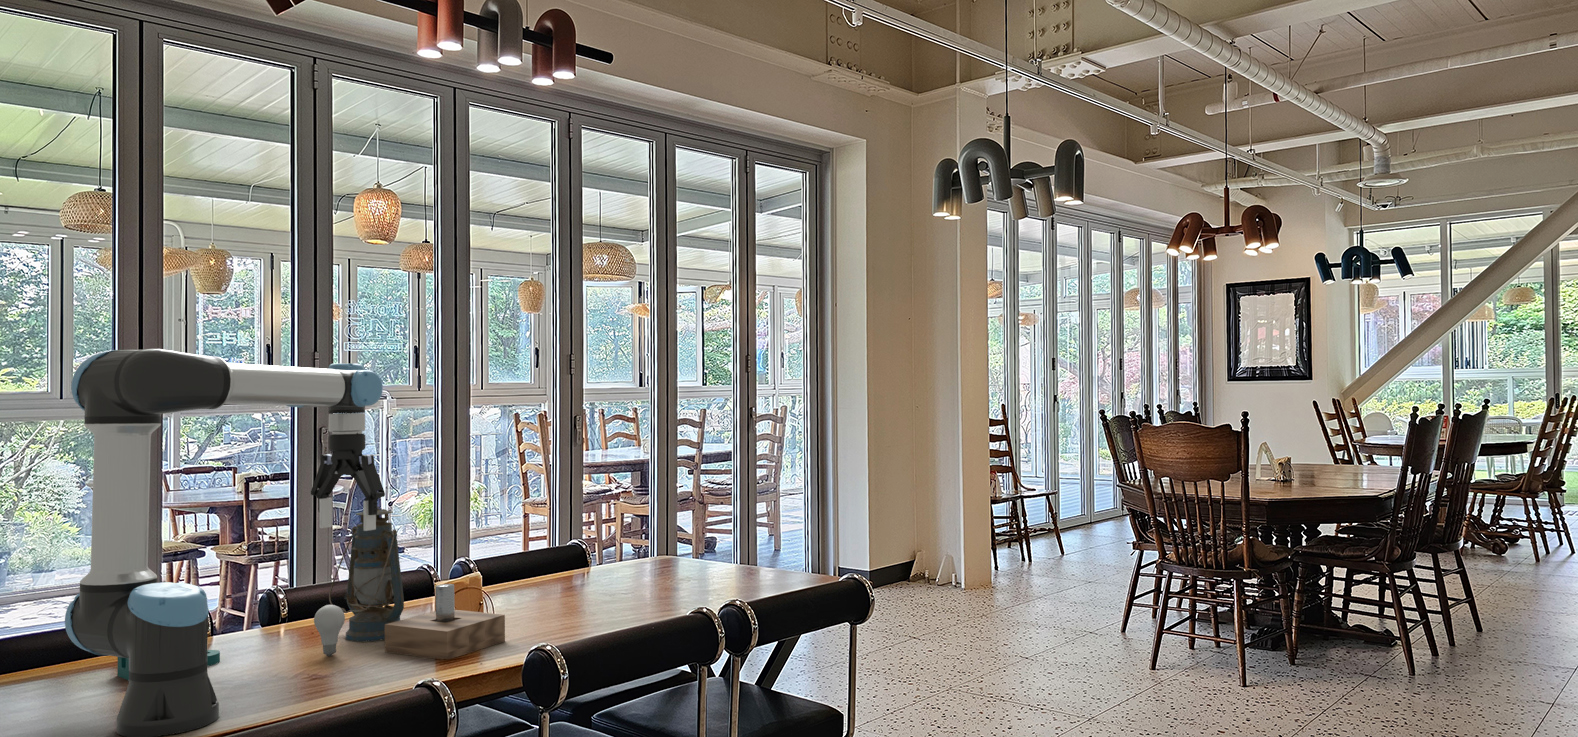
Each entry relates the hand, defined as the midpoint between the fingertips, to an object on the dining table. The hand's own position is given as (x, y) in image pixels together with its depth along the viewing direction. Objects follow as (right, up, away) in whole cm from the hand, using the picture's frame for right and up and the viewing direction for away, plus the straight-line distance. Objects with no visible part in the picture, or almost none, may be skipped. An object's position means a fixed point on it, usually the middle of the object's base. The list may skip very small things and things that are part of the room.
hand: (347, 528), depth 230 cm
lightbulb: (-1, -27, -6) cm, 27 cm away
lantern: (0, -27, +13) cm, 30 cm away
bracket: (-30, -27, -15) cm, 43 cm away
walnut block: (+21, -26, +1) cm, 34 cm away
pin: (+21, -25, +2) cm, 33 cm away
